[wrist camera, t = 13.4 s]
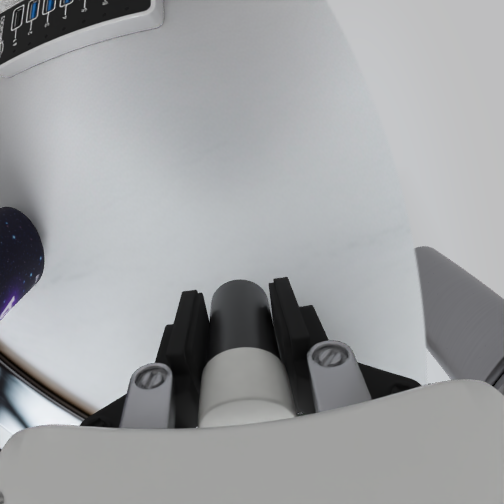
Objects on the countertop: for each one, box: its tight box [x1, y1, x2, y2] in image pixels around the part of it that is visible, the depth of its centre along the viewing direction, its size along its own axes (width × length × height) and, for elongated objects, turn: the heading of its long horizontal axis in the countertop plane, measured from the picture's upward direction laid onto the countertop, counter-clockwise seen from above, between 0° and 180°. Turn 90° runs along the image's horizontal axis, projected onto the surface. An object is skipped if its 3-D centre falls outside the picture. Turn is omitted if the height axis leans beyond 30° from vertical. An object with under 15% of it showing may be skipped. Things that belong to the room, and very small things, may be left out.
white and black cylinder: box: [198, 280, 297, 428], centre depth 10 cm, size 3×3×6 cm
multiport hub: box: [0, 0, 164, 78], centre depth 10 cm, size 4×11×2 cm, turn 94°
